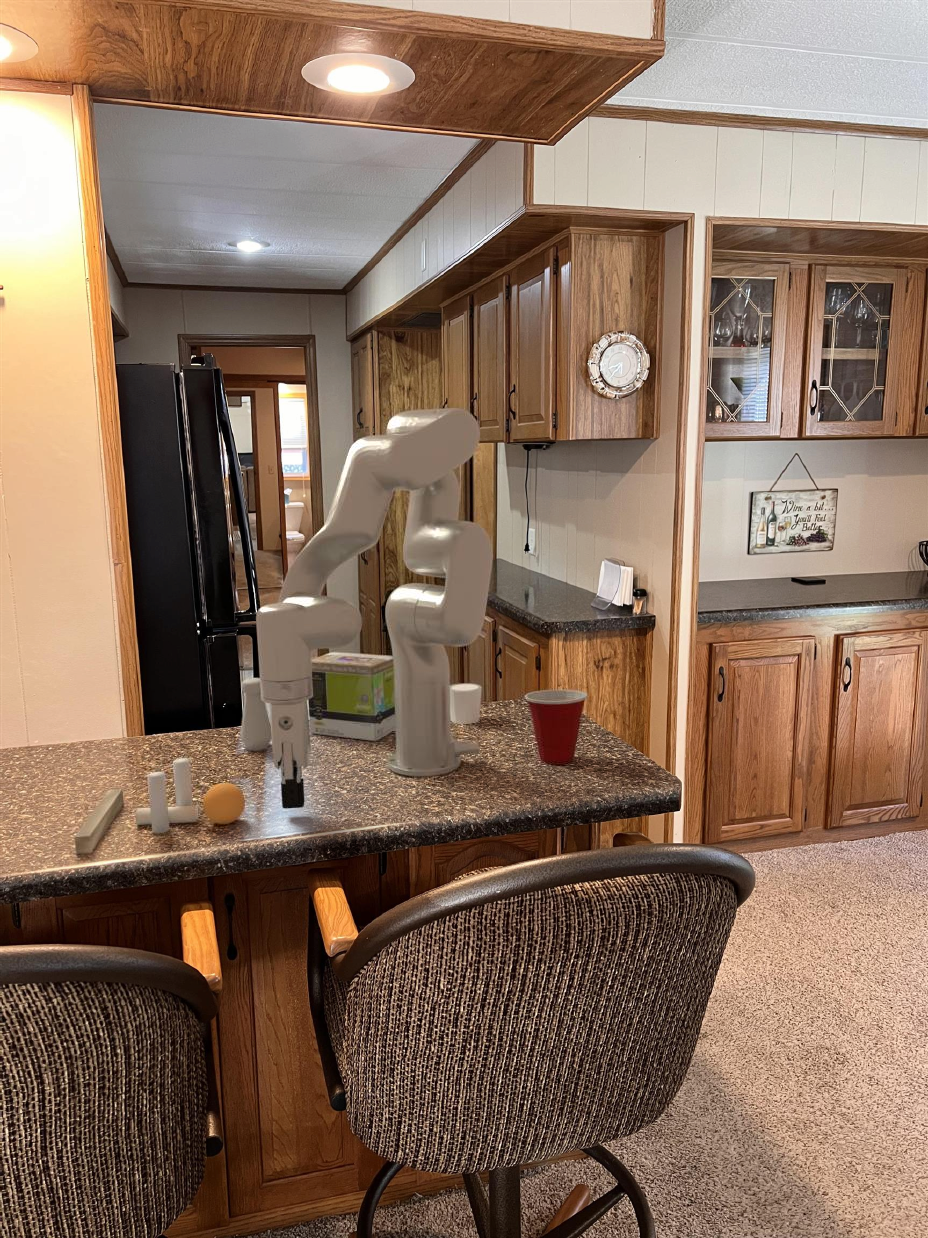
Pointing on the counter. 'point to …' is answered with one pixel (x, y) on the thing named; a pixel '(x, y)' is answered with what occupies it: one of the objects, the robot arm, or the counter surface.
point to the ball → (223, 803)
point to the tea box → (352, 696)
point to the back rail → (99, 821)
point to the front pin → (169, 815)
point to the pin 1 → (158, 802)
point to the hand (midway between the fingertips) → (293, 805)
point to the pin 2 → (182, 782)
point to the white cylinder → (465, 703)
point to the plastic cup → (556, 722)
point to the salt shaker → (254, 717)
